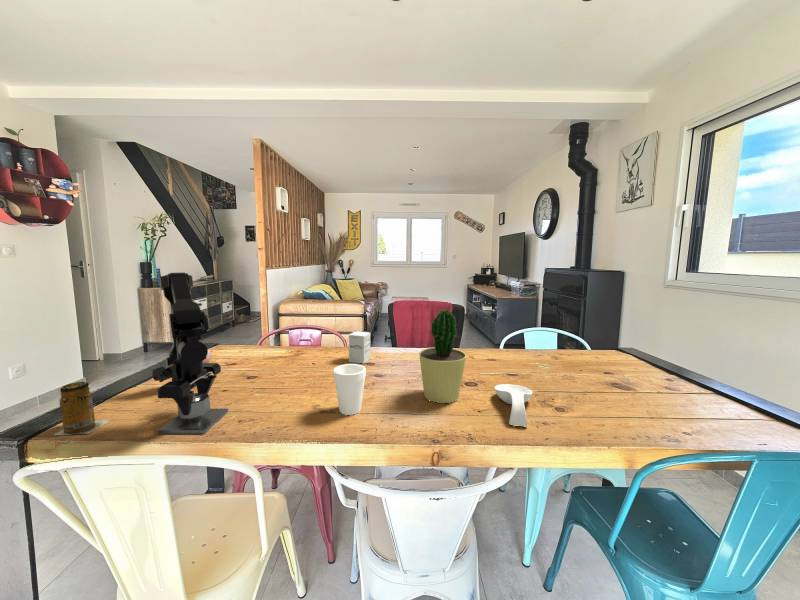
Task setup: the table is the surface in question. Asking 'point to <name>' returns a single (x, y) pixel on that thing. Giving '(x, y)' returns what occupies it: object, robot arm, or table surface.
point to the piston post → (193, 422)
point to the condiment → (78, 410)
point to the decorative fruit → (208, 357)
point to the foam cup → (349, 387)
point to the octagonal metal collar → (197, 406)
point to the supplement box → (359, 347)
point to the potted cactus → (442, 361)
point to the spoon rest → (515, 401)
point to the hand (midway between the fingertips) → (194, 408)
